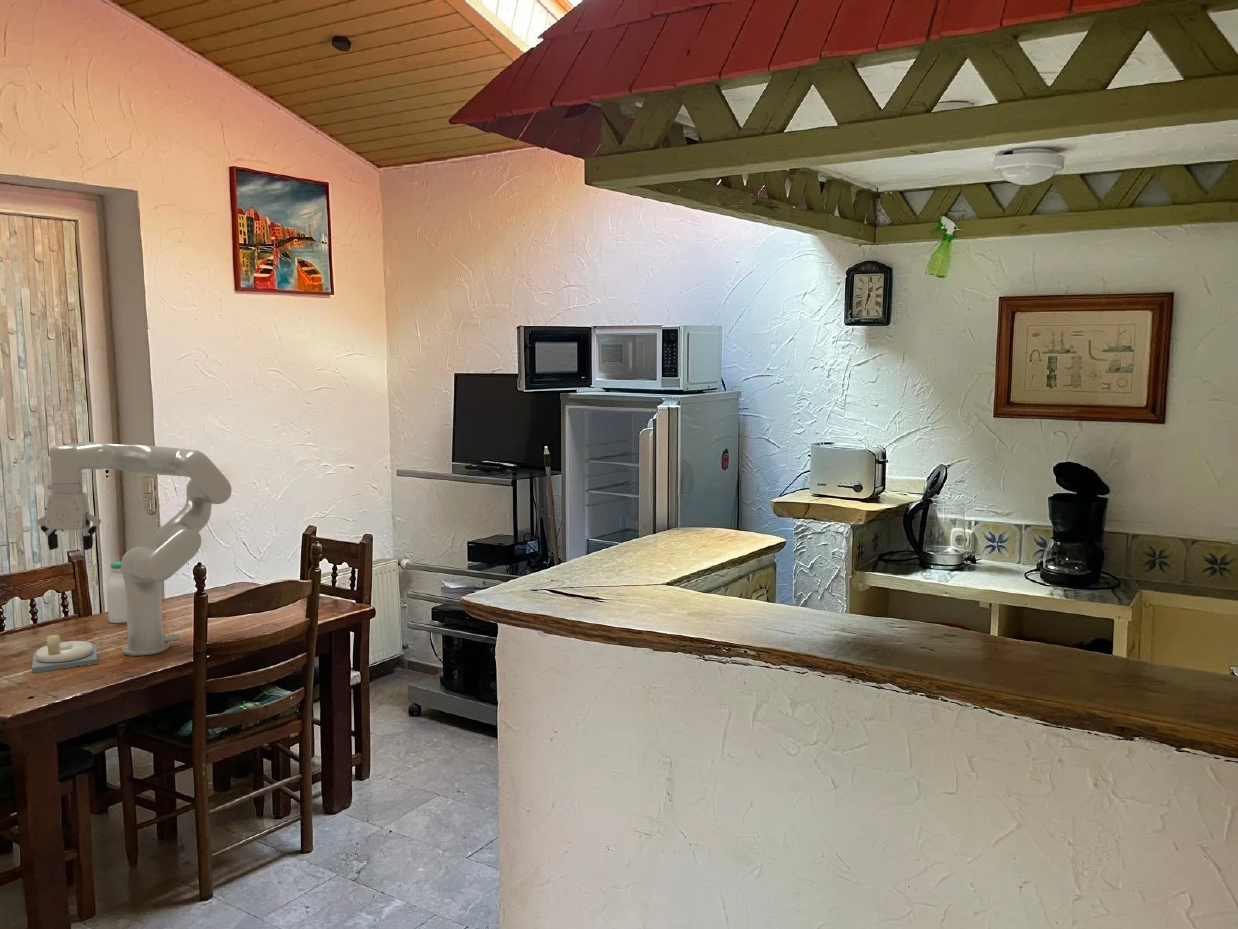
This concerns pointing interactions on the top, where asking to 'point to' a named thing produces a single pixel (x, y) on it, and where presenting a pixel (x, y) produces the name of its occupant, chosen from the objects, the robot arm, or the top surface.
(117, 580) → the milk bottle
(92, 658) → the base board
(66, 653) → the dial
